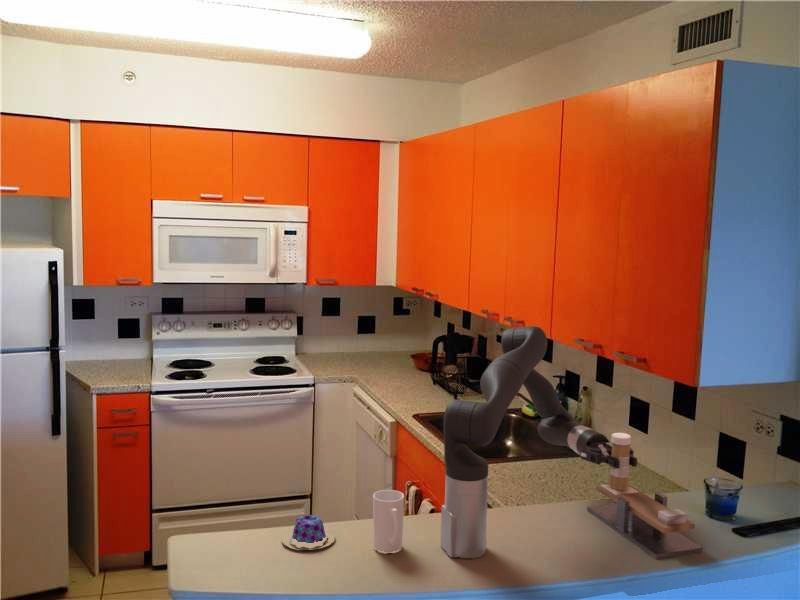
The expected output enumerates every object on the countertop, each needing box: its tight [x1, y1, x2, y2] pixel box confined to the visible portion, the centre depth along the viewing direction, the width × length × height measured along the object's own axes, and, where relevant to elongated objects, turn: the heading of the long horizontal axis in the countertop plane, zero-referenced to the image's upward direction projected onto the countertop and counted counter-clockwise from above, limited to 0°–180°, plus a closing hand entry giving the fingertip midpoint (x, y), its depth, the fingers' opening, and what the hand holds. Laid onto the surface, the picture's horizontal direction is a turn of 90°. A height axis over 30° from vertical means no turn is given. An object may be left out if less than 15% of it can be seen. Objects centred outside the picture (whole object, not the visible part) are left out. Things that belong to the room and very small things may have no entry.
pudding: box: [292, 514, 326, 543], centre depth 161 cm, size 12×12×5 cm
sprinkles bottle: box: [609, 432, 632, 490], centre depth 177 cm, size 5×5×14 cm
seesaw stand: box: [586, 492, 703, 560], centre depth 169 cm, size 12×27×8 cm, turn 18°
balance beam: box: [595, 482, 695, 533], centre depth 169 cm, size 8×26×3 cm, turn 18°
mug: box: [372, 489, 405, 552], centre depth 156 cm, size 10×7×12 cm, turn 16°
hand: (626, 463), depth 174 cm, fingers closed on sprinkles bottle, 4 cm apart
